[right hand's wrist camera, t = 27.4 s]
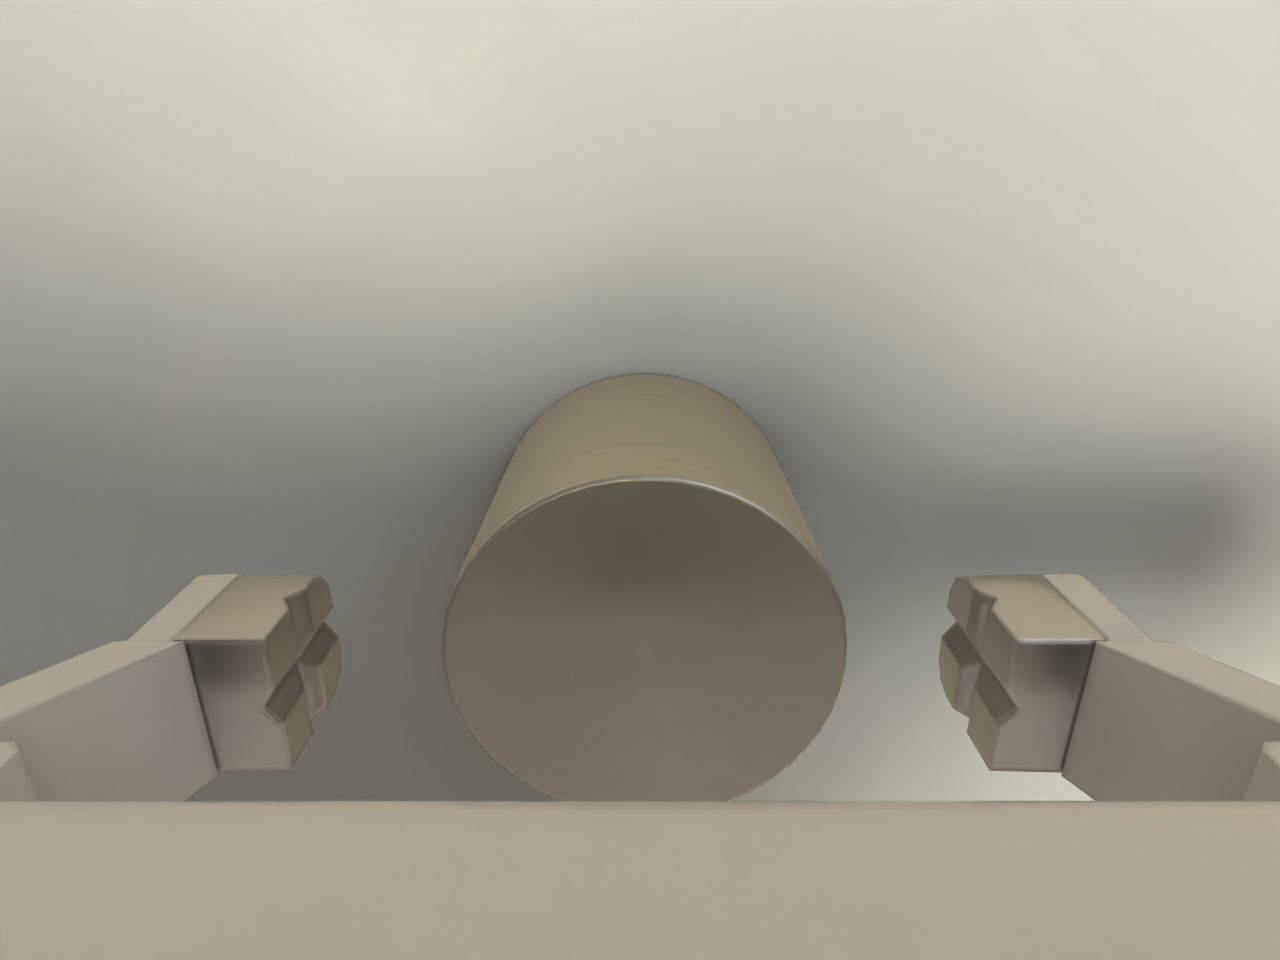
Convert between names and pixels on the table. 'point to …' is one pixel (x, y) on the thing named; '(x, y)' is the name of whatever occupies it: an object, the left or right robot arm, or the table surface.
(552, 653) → the tin
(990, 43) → the table surface
